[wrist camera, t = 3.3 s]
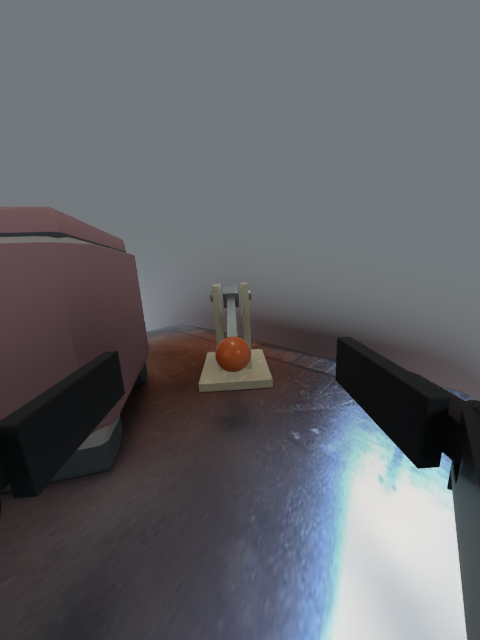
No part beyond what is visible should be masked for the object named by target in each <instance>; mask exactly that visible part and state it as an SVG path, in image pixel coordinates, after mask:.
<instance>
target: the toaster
mask: <svg viewBox="0 0 480 640" xmlns="http://www.w3.org/2000/svg"><path fill="white" fill-rule="evenodd" d="M111 351H118V355H119V360H120V366H121V372H122V377H123V383H124V389H125V394H124V395H123V397H122V398H121V399H120V400H119V401H118V402H117V404H116V405H115V406H114V407H113V408H112V409H111V411H110V412H109V413H108V414H107V415H106V416H105V418H104V419H103V420H102V421H101V422H100V423H99V425H98V426H97V427H96V428H95V429H94V431H93V432H92V433H91V434H90V435H89V436H88V438H87V439H86V440H85V441H84V442H83V443H82V445H81V446H80V447H79V448H78V449H77V450H76V452H75V453H74V454H73V455H72V456H71V457H70V459H69V460H68V461H67V462H66V463H65V465H64V466H63V467H62V468H61V469H60V470H59V472H58V473H57V474H56V475H55V476H54V477H53V479H52V480H51V481H50V482H49V483H51V482H55V481H60V480H65V479H70V478H75V477H80V476H84V475H89V474H94V473H99V472H103V471H106V470H108V469H109V468H110V467H111V466H112V465H113V463H114V461H115V458H116V456H117V453H118V451H119V448H120V443H121V434H122V422H121V417H120V413H121V411H122V408H123V406H124V404H125V402H126V400H127V398H128V396H129V394H130V392H131V390H132V388H133V387H137V386H142V385H144V383H145V381H146V379H147V368H146V362H145V360H146V358H147V356H148V341H147V335H146V328H145V322H144V315H143V308H142V302H141V295H140V289H139V282H138V275H137V269H136V262H135V256H134V255H131V254H128V253H126V251H125V245H124V243H123V241H122V240H121V239H119V238H117V237H115V236H113V235H110V234H108V233H106V232H104V231H101V230H99V229H97V228H95V227H93V226H90V225H88V224H86V223H84V222H81V221H79V220H77V219H75V218H73V217H71V216H69V215H66V214H64V213H62V212H60V211H58V210H55V209H53V208H50V207H0V420H2V419H3V418H5V417H6V416H8V415H9V414H11V413H12V412H14V411H15V410H17V409H19V408H20V407H22V406H23V405H25V404H26V403H28V402H29V401H31V400H32V399H34V398H35V397H37V396H38V395H40V394H41V393H43V392H44V391H46V390H47V389H49V388H51V387H52V386H54V385H55V384H57V383H58V382H60V381H61V380H63V379H64V378H66V377H67V376H69V375H70V374H72V373H73V372H75V371H76V370H78V369H79V368H81V367H82V366H84V365H86V364H87V363H89V362H90V361H92V360H93V359H95V358H96V357H98V356H99V355H101V354H102V353H104V352H111ZM7 491H12V490H11V486H10V483H9V484H8V485H7V486H6V487H5V488H4V489H3V490H2V491H1V492H0V493H2V492H7Z"/></svg>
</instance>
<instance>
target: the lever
mask: <svg viewBox="0 0 480 640" xmlns="http://www.w3.org/2000/svg"><path fill="white" fill-rule="evenodd" d="M238 298H239V296H238V285H224V286H223V302H224V308H227V338H225V339H223V340H222V341H221V342H220V343H219V344H218V346H217V348H216V352H215V357H216V361H217V363H218V365H219V366H220V367H221V368H222V369H224V370H226V371H228V372H238V371H240V370H242V369H244V368H245V367H246V366H247V364H248V363H249V361H250V357H251V351H250V348H249V346H248V344H247V343H246V341H244V340H243V339H242V338H239V337H237V324H236V309H235V307H239V299H238Z"/></svg>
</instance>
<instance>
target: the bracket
mask: <svg viewBox="0 0 480 640" xmlns="http://www.w3.org/2000/svg"><path fill="white" fill-rule="evenodd" d="M240 293H241V294H240V295H241V313H242V331H243V340H244V341H246V343H247V344H248V346H249V348H250V351H251V357H250V361H249V363H248V364H247V366H246V367H245V368H244V369H242V370H240V371H238V372H228V371H226V370H224V369H222V368H221V367H220V366H219V365H218V363H217V361H216V357H215V352H208V353H207V357H206V360H205V364H204V367H203V371H202V374H201V378H200V381H199V384H198V385H199V392H211V391H226V390H241V389H256V388H271V387H273V379H272V376H271V373H270V370H269V368H268V365H267V362H266V359H265V357H264V354H263V351H262V349H255V350H251V338H250V317H249V300H251V291H250V290H248V284H247V283H246V282H241V283H240ZM210 299H211V302H213V306H214V318H215V330H216V343H217V346H218V344H219V343H220V342H221V341H222V340H223V339H225V337H224V325H223V324H224V323H223V309H222V296H221V284H214V285H213V286H212V293H210Z"/></svg>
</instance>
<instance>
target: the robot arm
mask: <svg viewBox="0 0 480 640" xmlns="http://www.w3.org/2000/svg"><path fill="white" fill-rule="evenodd" d="M336 381H337V382H338V383H339V384H340V385H341V386H342V387H343V388H344V389H345V390H346V392H347V393H348V394H349V395H350V396H351V397H352V398H353V399H354V400H355V401H356V402H357V403H358V404H359V406H360V407H361V408H362V409H363V410H364V411H365V412H366V413H367V414H368V415H369V416H370V417H371V418H372V420H373V421H374V422H375V423H376V424H377V425H378V426H379V427H380V428H381V429H382V430H383V431H384V432H385V433H386V435H387V436H388V437H389V438H390V439H391V440H392V441H393V442H394V443H395V444H396V445H397V446H398V447H399V449H400V450H401V451H402V452H403V453H404V454H405V455H406V456H407V457H408V458H409V459H410V460H411V461H412V463H413V464H414V465H415V466H416V467H417V468H431V467H439V466H440V460H441V454H442V452H443V453H444V454H446V455H447V456H448V457H449V458H450V459H451V460H452V464H451V470H450V476H449V481H448V487H447V489H450V490H453V500H454V510H455V520H456V531H457V541H458V551H459V561H460V571H461V581H462V591H463V601H464V611H465V622H466V632H467V640H480V401H477V400H468V401H464V400H462V399H461V398H459V397H457V396H455V395H454V394H452V393H450V392H448V391H446V390H445V389H443V388H441V387H438V385H436V384H434V383H432V382H430V381H429V380H427V379H425V378H424V377H422V376H420V375H418V374H415V373H412V372H409V371H407V370H405V369H404V368H402V367H400V366H398V365H397V364H395V363H393V362H392V361H390V360H388V359H387V358H385V357H383V356H381V355H380V354H378V353H376V352H375V351H373V350H371V349H369V348H368V347H366V346H364V345H362V344H361V343H359V342H357V341H356V340H354V339H352V338H350V337H343V338H337V357H336ZM124 394H125V389H124V383H123V377H122V372H121V366H120V360H119V355H118V351H111V352H104V353H102V354H101V355H99V356H98V357H96V358H95V359H93V360H92V361H90V362H89V363H87V364H86V365H84V366H82V367H81V368H79V369H78V370H76V371H75V372H73V373H72V374H70V375H69V376H67V377H66V378H64V379H63V380H61V381H60V382H58V383H57V384H55V385H54V386H52V387H51V388H49V389H47V390H46V391H44V392H43V393H41V394H40V395H38V396H37V397H35V398H34V399H32V400H31V401H29V402H28V403H26V404H25V405H23V406H22V407H20V408H19V409H17V410H15V411H14V412H12V413H11V414H9V415H8V416H6V417H5V418H3V419H2V420H0V492H1V491H2V490H3V489H4V488H5V487H6V486H7V485H8V484H9V483H10V486H11V490H12V493H13V496H14V498H21V497H35V496H38V495H39V494H40V493H41V491H42V490H43V489H44V488H45V487H46V486H47V484H48V483H49V482H50V481H51V480H52V479H53V477H54V476H55V475H56V474H57V473H58V472H59V470H60V469H61V468H62V467H63V466H64V465H65V463H66V462H67V461H68V460H69V459H70V457H71V456H72V455H73V454H74V453H75V452H76V450H77V449H78V448H79V447H80V446H81V445H82V443H83V442H84V441H85V440H86V439H87V438H88V436H89V435H90V434H91V433H92V432H93V431H94V429H95V428H96V427H97V426H98V425H99V423H100V422H101V421H102V420H103V419H104V418H105V416H106V415H107V414H108V413H109V412H110V411H111V409H112V408H113V407H114V406H115V405H116V404H117V402H118V401H119V400H120V399H121V398H122V397H123V395H124ZM1 504H2V503H1V500H0V513H1Z"/></svg>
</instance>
